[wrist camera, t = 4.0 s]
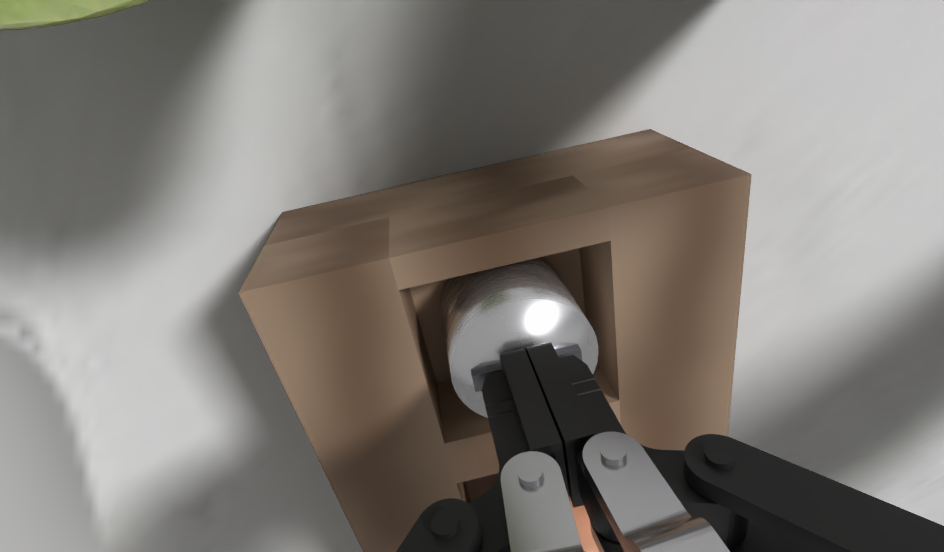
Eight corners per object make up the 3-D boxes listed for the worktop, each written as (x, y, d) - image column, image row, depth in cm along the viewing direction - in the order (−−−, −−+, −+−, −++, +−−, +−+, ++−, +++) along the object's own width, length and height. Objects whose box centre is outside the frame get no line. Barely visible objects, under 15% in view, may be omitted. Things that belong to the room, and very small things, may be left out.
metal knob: (555, 232, 17) (597, 288, 13) (567, 337, 19) (606, 409, 15) (427, 262, 17) (436, 326, 13) (453, 364, 19) (467, 443, 15)
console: (650, 129, 19) (751, 174, 13) (654, 524, 30) (709, 632, 25) (282, 212, 18) (238, 292, 13) (429, 582, 30) (437, 704, 24)
